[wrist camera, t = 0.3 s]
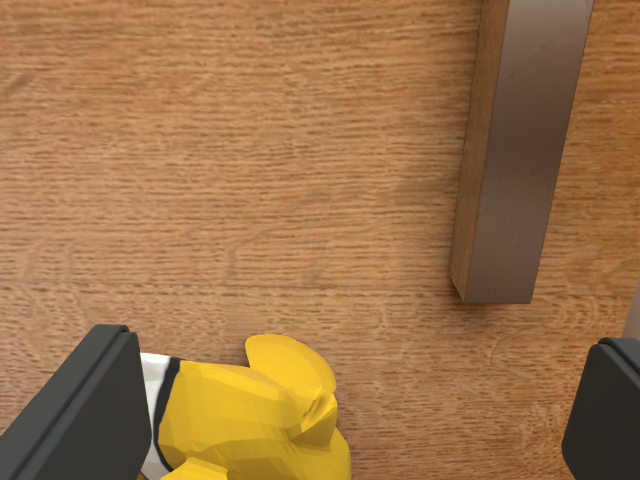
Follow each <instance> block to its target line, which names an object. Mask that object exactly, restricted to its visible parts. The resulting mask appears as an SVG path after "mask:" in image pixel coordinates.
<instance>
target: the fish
mask: <svg viewBox="0 0 640 480" xmlns="http://www.w3.org/2000/svg"><path fill="white" fill-rule="evenodd" d="M245 347H246V353H247V357H248V360H249V363H250V368H248V367H244V366H236V365H225V364H213V363H200V362H194V361H189V360H184V359H180V358H176V357H171V356H164V355H157V354H148V353H140V355H141V362H142V368H143V375H144V382H145V388H146V395H147V402H148V408H149V415H150V421H151V428H152V441H151V446H150V450H149V452H148V455H147V457H146V459H145V462H144V464H143V466H142V468H141V471H140V473H139V475H138V478H137V480H143V479H144V478H145V479H146V480H351V477H352V468H351V455H350V452H349V446H348V444H347V442H346V441H345V439H344V438H343V437H342V435H341V433H340V432H339V431H338V430H337V428H336V427H335V425H336V421H337V416H338V407H337V401H336V399H335V397H334V395H333V393H331V392H335V390H336V386H337V385H336V381H335V377H334V373H333V371H332V370H331V368H330V367H329V365H328V364H327V362H326V361H325V359H324V358H323V357H321V356H320V355H319V354H317V353H316V352H315V351H314V350H312V349H311V348H310V347H308V346H307V345H305V344H303V343H301V342H299V341H296V340H294V339H292V338H290V337H288V336H283V335H276V334H260V335H255V336H252V337H250V338H248V339H247V341H246V343H245Z"/></svg>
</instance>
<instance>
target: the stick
mask: <svg viewBox="0 0 640 480" xmlns="http://www.w3.org/2000/svg"><path fill="white" fill-rule="evenodd" d="M593 5H594V0H483V5H482V12H481V20H480V28H479V36H478V43H477V51H476V59H475V67H474V75H473V82H472V90H471V98H470V106H469V113H468V121H467V129H466V137H465V145H464V152H463V160H462V168H461V176H460V183H459V191H458V199H457V207H456V215H455V222H454V230H453V238H452V246H451V254H450V261H449V269H448V275H449V276H450V278H451V280H452V282H453V284H454V285H455V287H456V289H457V291H458V293H459V294H460V296H461V298H462V300H463V302H464V303H481V304H530V303H531V300H532V295H533V290H534V286H535V281H536V276H537V271H538V267H539V262H540V257H541V252H542V248H543V243H544V238H545V233H546V229H547V224H548V219H549V214H550V210H551V205H552V200H553V195H554V190H555V186H556V181H557V176H558V171H559V167H560V162H561V157H562V152H563V148H564V143H565V138H566V133H567V129H568V124H569V119H570V114H571V109H572V105H573V100H574V95H575V90H576V86H577V81H578V76H579V71H580V67H581V62H582V57H583V52H584V48H585V43H586V38H587V33H588V29H589V24H590V19H591V14H592V9H593Z"/></svg>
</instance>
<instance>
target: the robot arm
mask: <svg viewBox="0 0 640 480" xmlns="http://www.w3.org/2000/svg"><path fill="white" fill-rule="evenodd" d="M151 441H152V428H151V421H150V415H149V408H148V402H147V395H146V388H145V382H144V375H143V368H142V362H141V355H140V348H139V342H138V337H137V334H136V333H134V332H130V331H129V329H128V327H127V326H126V325H105V324H98V325H95V326H94V327H93V328H92V329H91V330H90V331H89V333H88V334H87V335H86V336H85V337H84V339H83V340H82V341H81V342H80V343H79V345H78V346H77V347H76V348H75V349H74V351H73V352H72V353H71V354H70V355H69V357H68V358H67V359H66V360H65V361H64V363H63V364H62V365H61V366H60V368H59V369H58V370H57V371H56V372H55V374H54V375H53V376H52V377H51V378H50V380H49V381H48V382H47V383H46V384H45V386H44V387H43V388H42V389H41V390H40V392H39V393H38V394H37V395H36V396H35V397H34V398H33V399H32V400H31V401H30V402H29V404H28V405H27V406H26V407H25V408H24V410H23V411H22V412H21V413H20V414H19V416H18V417H17V418H16V419H15V420H14V422H13V423H12V424H11V425H10V426H9V428H8V429H7V430H6V431H5V432H4V434H3V435H2V436H1V437H0V480H137V478H138V475H139V473H140V471H141V468H142V466H143V464H144V462H145V459H146V457H147V455H148V452H149V450H150V446H151ZM562 454H563V457H564V460H565V462H566V464H567V466H568V467H569V469H570V471H571V473H572V474H573V476H574V478H575V479H576V480H640V342H639V341H638V340H636V339H633V338H608V337H605V338H602V339H600V340H599V341H598V343H597V344H595V345H593V346H592V347H591V348H590V350H589V353H588V356H587V360H586V363H585V367H584V370H583V373H582V377H581V380H580V383H579V387H578V390H577V393H576V397H575V400H574V404H573V407H572V410H571V414H570V417H569V420H568V424H567V427H566V430H565V434H564V437H563V440H562Z"/></svg>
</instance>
